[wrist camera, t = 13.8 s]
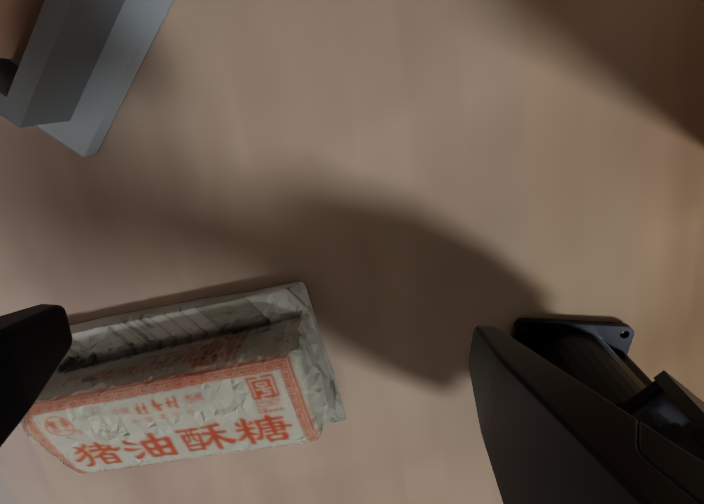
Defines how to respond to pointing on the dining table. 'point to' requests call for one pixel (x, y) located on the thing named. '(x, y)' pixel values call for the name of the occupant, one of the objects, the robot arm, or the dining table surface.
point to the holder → (79, 67)
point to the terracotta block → (17, 26)
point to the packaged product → (189, 382)
